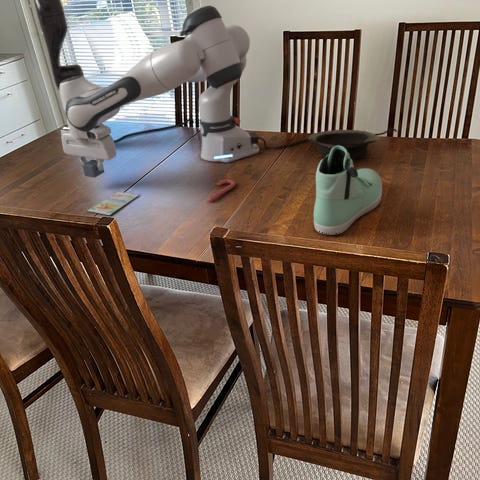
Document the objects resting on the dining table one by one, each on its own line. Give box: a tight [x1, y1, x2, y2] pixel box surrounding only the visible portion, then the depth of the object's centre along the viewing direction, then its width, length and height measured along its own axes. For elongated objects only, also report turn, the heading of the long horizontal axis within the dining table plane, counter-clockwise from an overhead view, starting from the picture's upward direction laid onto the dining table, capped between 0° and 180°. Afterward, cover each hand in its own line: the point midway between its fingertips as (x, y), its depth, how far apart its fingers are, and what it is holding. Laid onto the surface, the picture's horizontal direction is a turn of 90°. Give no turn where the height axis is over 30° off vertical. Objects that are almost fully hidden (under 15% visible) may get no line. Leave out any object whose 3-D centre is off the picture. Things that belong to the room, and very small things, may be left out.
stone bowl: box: [307, 129, 380, 162], centre depth 171 cm, size 25×25×9 cm
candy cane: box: [207, 178, 236, 203], centre depth 154 cm, size 6×15×2 cm, turn 145°
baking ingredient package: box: [87, 191, 139, 216], centre depth 152 cm, size 9×1×15 cm
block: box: [82, 159, 105, 179], centre depth 161 cm, size 4×5×4 cm
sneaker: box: [313, 146, 383, 236], centre depth 133 cm, size 14×35×20 cm, turn 152°
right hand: (93, 168), depth 161 cm, fingers closed on block, 4 cm apart
